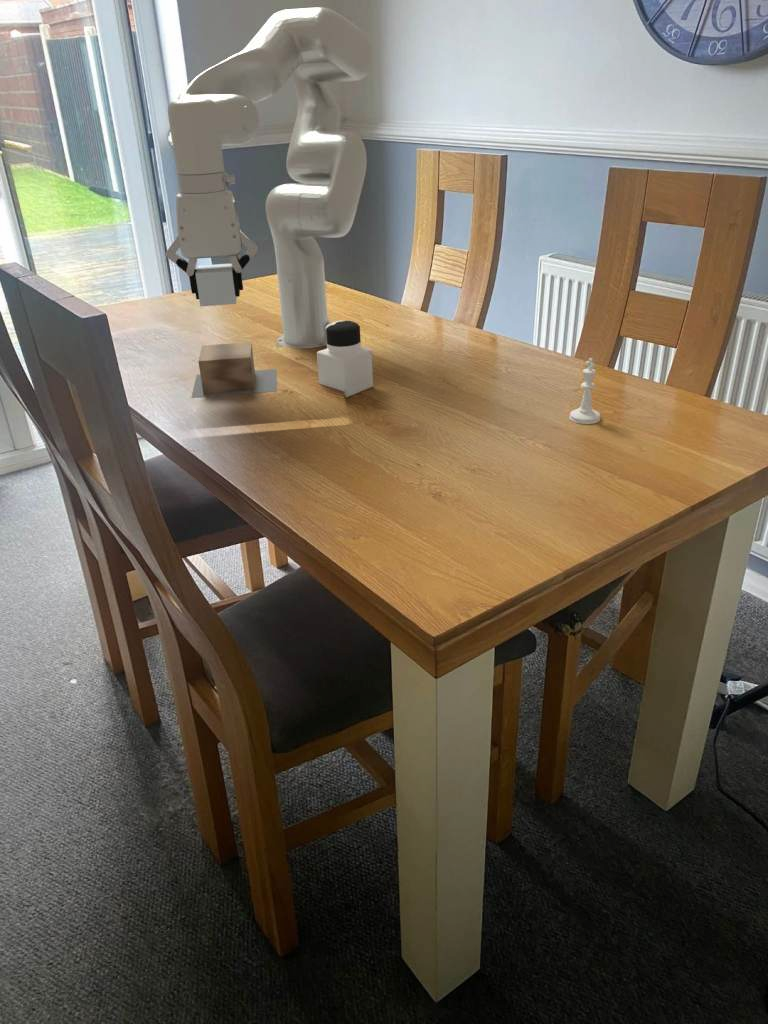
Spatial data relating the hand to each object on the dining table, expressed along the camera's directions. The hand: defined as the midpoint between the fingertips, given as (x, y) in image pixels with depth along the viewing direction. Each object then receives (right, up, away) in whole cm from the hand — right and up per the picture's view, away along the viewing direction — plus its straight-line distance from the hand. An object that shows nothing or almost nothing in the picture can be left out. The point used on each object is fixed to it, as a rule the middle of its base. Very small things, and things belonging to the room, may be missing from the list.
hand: (218, 295), depth 136 cm
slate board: (+2, -15, +9) cm, 17 cm away
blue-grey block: (0, -1, 0) cm, 1 cm away
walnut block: (+1, -14, +8) cm, 16 cm away
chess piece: (+61, -22, -8) cm, 66 cm away
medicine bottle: (+22, -15, +7) cm, 28 cm away
